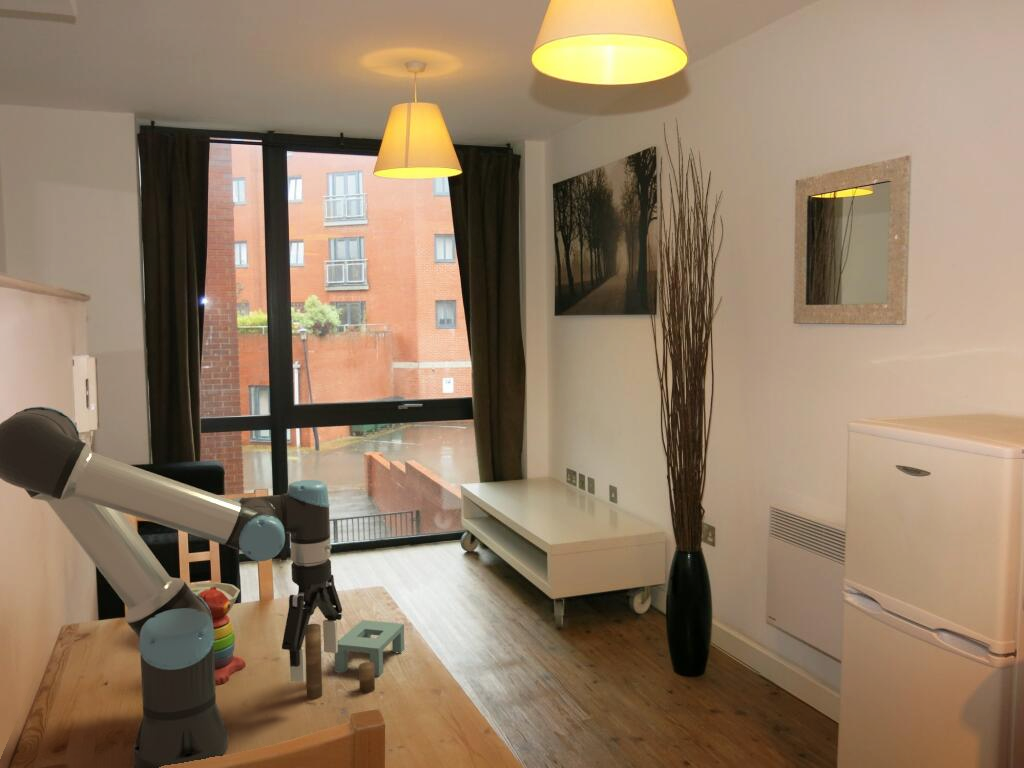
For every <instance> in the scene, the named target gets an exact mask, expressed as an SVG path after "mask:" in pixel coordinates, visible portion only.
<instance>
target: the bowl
mask: <svg viewBox="0 0 1024 768" xmlns="http://www.w3.org/2000/svg"><path fill="white" fill-rule="evenodd" d="M187 586H188V587H189V588H190V589H191V591H192V592H193V593H195V594H196V595H198V594H199V593H201V592H203V591H206V590H210V588H211V587H216V590H219V591H221V592H222V593H223V594H224V595H225V596H226V597H227V598H228V599H229V601H230V604H231V606H230V609H229V611H228V612H227V613H226V615H227V616H228V613H230V611H231V610H232V608H233V606H234V604H235V602H236V600H237V598H238V595H239V594H240V591H241V589H239V588H238V587H237V586H235V585H234V584H230V583H223V582H222V583H221V582H217V581H215V582H196V583H189V584H187Z"/></svg>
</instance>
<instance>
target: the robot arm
mask: <svg viewBox="0 0 1024 768" xmlns="http://www.w3.org/2000/svg"><path fill="white" fill-rule="evenodd" d="M79 433H80V432H79V430H78V428H77V425H76V424H75V422H74V421H73V419H71V417H69V415H67V414H65V413H64V412H62V411H60V410H59V409H55V408H51V407H46V406H35V407H33V406H31V407H27V408H25V409H23V410H20V411H17V412H16V413H14V414H13V415H12V416H9V418H7V419H5V420H4V421H2V422H1V423H0V480H1V481H3V482H5V483H7V484H10V485H12V486H15V487H18V488H20V489H24V491H26V493H27V494H28V495H29V497H30V498H31V500H38V501H44V502H46V503H47V504H48V505H49V507H50V508H51V510H53V512H54V514H55V515H56V516H57V517H58V518H59V520H60V521H61V522H62V523H63V525H64V526H65V528H66V529H67V530H68V531H69V533H70V534H71V536H72V537H73V538H74V539H75V541H76V542H77V543H78V544H79V546H80V547H81V548H82V550H83V551H84V552H85V553H86V555H87V556H88V558H89V559H90V560H91V561H92V563H93V564H94V565H95V566H96V568H97V569H98V571H99V572H100V573H101V575H102V576H103V577H104V578H105V580H106V581H107V583H108V584H109V585H110V587H111V588H112V589H113V591H114V592H115V593H116V594H117V595H118V597H119V599H121V600H122V603H124V605H125V606H126V610H127V611H126V615H125V621H126V623H127V625H128V626H129V627H130V628H131V630H132V631H133V632H134V633H135V634H136V635H135V636H137V637H138V639H139V640H138V651H139V653H140V674H141V677H140V678H141V694H142V695H141V697H142V717H141V722H140V724H139V728H138V731H137V734H136V737H135V741H134V744H133V750H132V753H133V756H132V757H133V765H134V766H135V768H159V767H161V766H164V765H171V764H178V763H184V762H189V761H194V760H201V759H206V758H209V757H215V756H221V755H222V756H224V754H226V751H228V750H227V749H228V747H229V732H228V729H227V727H226V725H225V723H224V720H223V718H222V715H221V712H220V709H219V706H218V704H217V697H216V695H217V693H216V690H217V689H216V685H215V661H214V640H215V632H214V628H213V620H212V616H211V612H210V609H209V607H208V605H207V604H206V603H205V601H204V600H203V599H202V598H201V597H199V596H198V595H196V594H195V593H193V592H192V591H191V589H190V588H189V587H188V586H187V585H188V584H187V582H185V580H184V579H183V578H180V577H179V578H178V577H172V576H170V574H169V573H168V572H167V571H166V569H165V568H164V567H163V566H162V564H161V563H160V561H159V560H158V558H156V556H155V554H154V553H153V552H152V550H151V549H150V548H149V546H148V545H147V543H146V542H145V541H144V539H142V537H141V535H140V534H139V533H138V532H137V530H136V529H135V527H134V526H133V525H132V523H131V522H130V520H129V519H128V518H127V517H126V515H129V516H133V517H136V518H139V519H142V520H146V521H149V522H152V523H155V524H158V525H161V526H165V527H167V528H170V529H174V530H177V531H180V532H184V533H186V534H190V535H192V536H194V537H195V536H196V537H198V538H201V539H205V540H208V541H212V542H214V543H217V544H221V545H224V546H228V547H229V548H232V549H236V550H239V551H241V552H242V554H244V555H245V556H246V557H247V558H248V559H250V560H253V561H256V562H265V561H269V560H272V559H274V558H275V557H277V556H278V555H279V554H280V553H281V551H282V550H283V549H284V545H285V541H286V534H289V535H290V561H291V562H292V563H291V564H290V565H291V581H292V582H293V583H294V584H296V585H297V586H298V589H297V590H298V591H297V594H290V595H289V597H288V611H287V616H286V622H285V627H284V633H283V639H282V644H281V649H282V650H284V651H285V650H287V651H289V668H290V669H289V671H290V672H289V673H290V682H295V683H296V682H297V683H306V653H305V646H303V643H304V640H305V633H306V630H307V626H308V625H309V624H310V623H309V622H310V619H311V617H312V615H314V613H315V611H316V609H317V608H318V609H319V611H320V612H321V613H322V615H323V618H324V620H323V621H322V629H323V630H322V631H323V652H324V653H330V654H331V653H332V654H335V653H337V652H338V621H341V620H342V618H343V617H342V616H343V614H342V613H343V607H342V604H341V601H340V598H339V594H338V591H337V588H336V585H335V578H334V576H335V575H334V574H332V560H330V557H331V549H332V546H333V545H331V541H330V540H331V538H330V537H331V531H330V529H331V527H330V503H329V502H330V501H329V492H328V485H327V484H326V483H325V482H324V481H322V480H318V479H302V480H297V481H293V482H291V483H289V484H288V486H287V491H286V493H282V494H277V495H274V494H273V495H263V496H254V497H253V496H252V497H249V496H248V497H243V496H241V497H240V498H234V499H230V498H227V497H224V496H221V495H219V494H216V493H212V492H208V491H206V490H203V489H201V488H197V487H195V486H192V485H189V484H187V483H182V482H180V481H178V480H174V479H172V478H169V477H166V476H163V475H160V474H157V473H154V472H152V471H151V472H150V471H147V470H145V469H142V468H139V467H136V466H133V465H130V464H129V463H125V462H122V461H119V460H117V459H116V460H115V459H113V458H110V457H107V456H104V455H101V454H99V453H96V452H93V451H92V449H91V447H90V444H88V443H86V442H83V440H82V439H81V438H80V434H79ZM125 514H126V515H125ZM337 620H338V621H337ZM222 756H221V757H222Z"/></svg>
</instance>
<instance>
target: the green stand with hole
mask: <svg viewBox="0 0 1024 768" xmlns="http://www.w3.org/2000/svg"><path fill="white" fill-rule="evenodd" d="M372 636H377V637H376V638H373V637H372ZM337 641H338V652H337V653H334V672H335V673H336V672H337V673H345V672H346V671H348V669H349V659H348V658H349V657H348V656H349V655H348V654H349V653H348V652H355V653H363V654H364V653H365V654H369V662H371V663H374V669H375V677H378V676H379V677H380V676H382V674H383V673H384V658H383V657H384V652H383V651H384V650H385V649H386V648H387V647H388V646H389V645H390V644H391V643H392V644H391V645H392V647H391V648H392V653H393V652H398V653H397V654H400V653H401V652H402V651H403V650H404V651H405V624H404V623H399V622H397V623H396V622H390V621H389V622H387V621H379V620H378V621H377V620H367V619H362V620H360V621H359V622H358V623H357V624H356V625H355V626H354V627H352V628H351V629H350V630H348V632H347V633H345V634H344V635H343V636H342V637H341V638H339V640H338V639H337ZM404 651H403V652H404ZM403 652H402V653H403ZM402 653H401V654H402Z"/></svg>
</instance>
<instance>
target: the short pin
mask: <svg viewBox="0 0 1024 768" xmlns="http://www.w3.org/2000/svg"><path fill="white" fill-rule="evenodd" d="M358 666H359V667H358V668H359V670H358V671H359V677H358V678H359V679H358V681H359V692H361V693H363V694H369V693H372V692H374V691H375V690H376V682H375V681H376V679H375V678H376V676H375V669H374V663H371V662H370V661H369V662H368V661H367V662H365V661H364V662H362V663H360V664H359V665H358Z"/></svg>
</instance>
